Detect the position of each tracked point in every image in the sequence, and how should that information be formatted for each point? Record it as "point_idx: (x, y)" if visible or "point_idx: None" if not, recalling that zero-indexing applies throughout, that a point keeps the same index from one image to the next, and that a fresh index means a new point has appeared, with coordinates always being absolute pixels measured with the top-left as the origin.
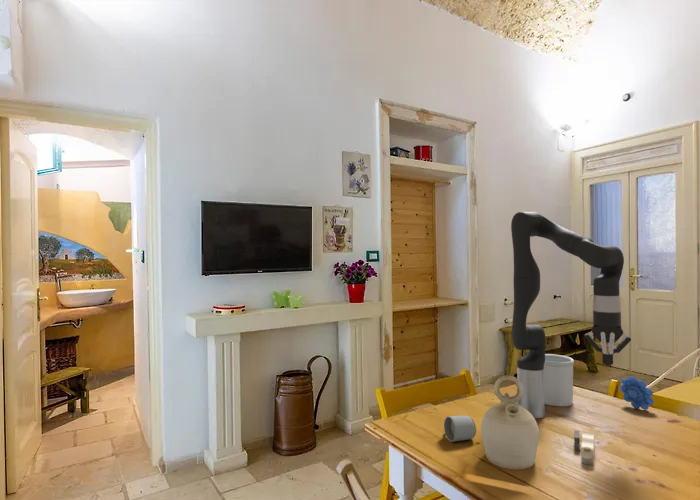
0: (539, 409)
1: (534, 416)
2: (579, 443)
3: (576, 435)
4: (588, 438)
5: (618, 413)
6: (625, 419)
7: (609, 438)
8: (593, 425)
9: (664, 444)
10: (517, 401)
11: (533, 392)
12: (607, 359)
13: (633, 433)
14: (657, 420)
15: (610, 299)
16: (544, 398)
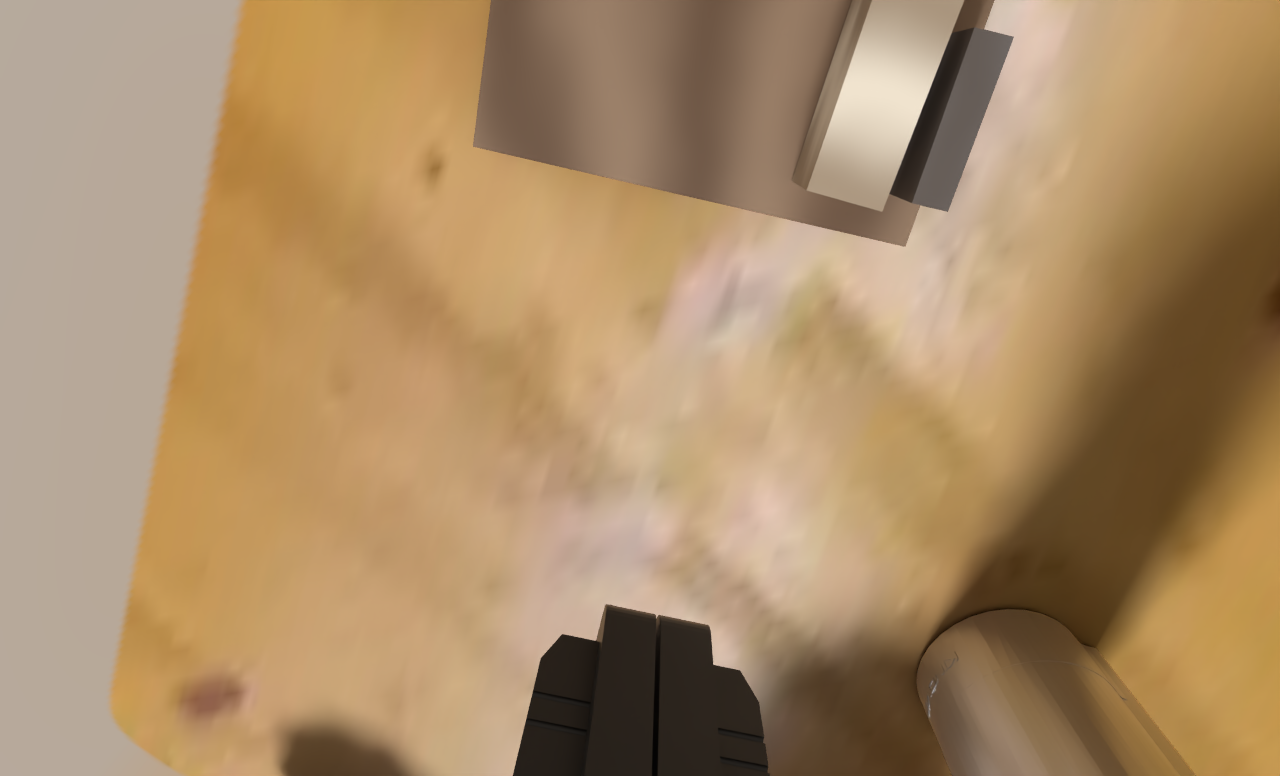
0: (994, 657)
1: (1012, 616)
2: (959, 31)
3: (976, 89)
4: (893, 56)
5: (471, 755)
6: (455, 680)
7: (631, 383)
8: (666, 566)
9: (330, 356)
10: (1151, 718)
11: (1105, 753)
12: (664, 723)
13: (465, 488)
14: (288, 693)
15: None
16: (967, 749)
